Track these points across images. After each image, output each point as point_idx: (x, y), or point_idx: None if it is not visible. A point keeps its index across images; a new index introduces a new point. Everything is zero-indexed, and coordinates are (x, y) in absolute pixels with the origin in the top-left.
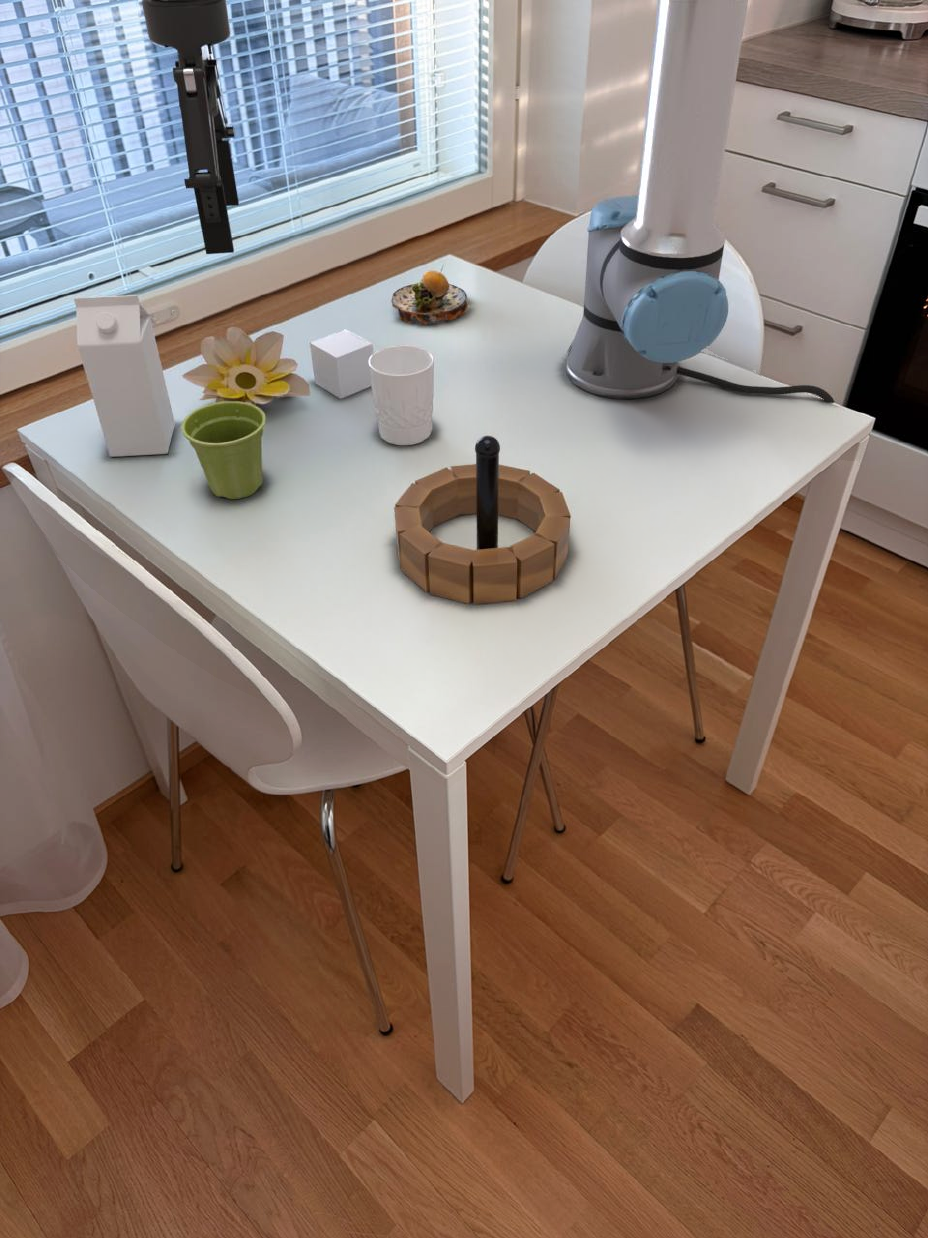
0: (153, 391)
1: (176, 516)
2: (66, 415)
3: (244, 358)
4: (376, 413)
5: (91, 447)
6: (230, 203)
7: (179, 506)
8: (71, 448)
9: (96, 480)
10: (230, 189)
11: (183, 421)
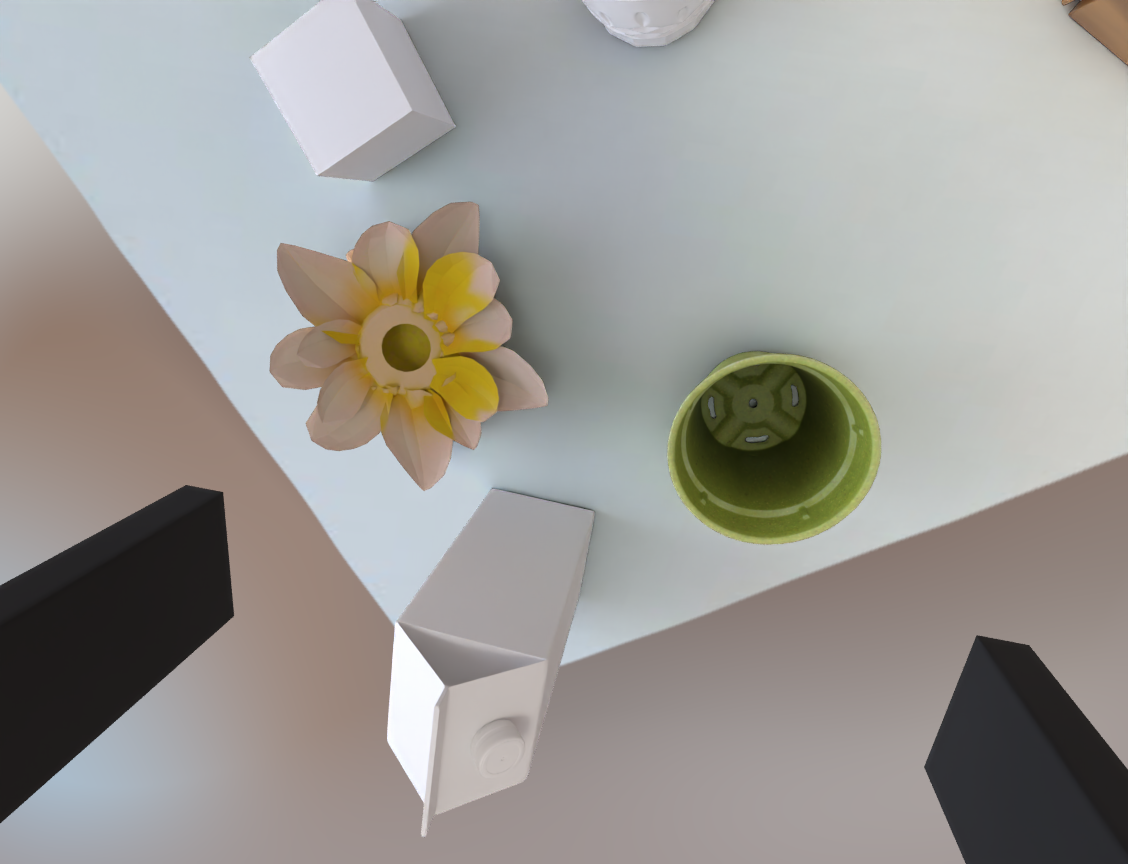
0: (568, 578)
1: None
2: None
3: (346, 346)
4: (645, 36)
5: None
6: (217, 538)
7: None
8: None
9: (645, 625)
10: (154, 569)
11: (730, 536)
